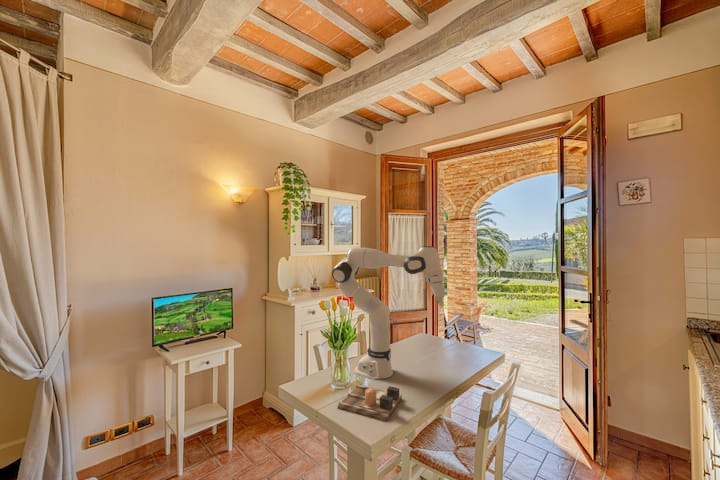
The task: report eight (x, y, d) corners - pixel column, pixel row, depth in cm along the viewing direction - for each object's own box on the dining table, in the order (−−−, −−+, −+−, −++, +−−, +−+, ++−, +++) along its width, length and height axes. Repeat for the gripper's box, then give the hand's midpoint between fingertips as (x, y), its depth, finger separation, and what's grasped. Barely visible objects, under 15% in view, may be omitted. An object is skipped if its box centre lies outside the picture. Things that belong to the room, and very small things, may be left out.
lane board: (337, 408, 141) (337, 403, 141) (357, 388, 159) (357, 384, 159) (386, 421, 131) (386, 416, 131) (401, 398, 149) (401, 394, 149)
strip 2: (367, 398, 147) (367, 386, 147) (373, 391, 153) (373, 380, 153) (395, 405, 141) (395, 393, 141) (400, 397, 147) (400, 386, 147)
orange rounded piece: (363, 405, 139) (363, 392, 139) (368, 400, 144) (368, 387, 144) (373, 408, 137) (373, 394, 137) (378, 402, 142) (377, 389, 141)
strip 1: (359, 407, 139) (359, 395, 139) (366, 400, 145) (366, 388, 145) (388, 415, 133) (388, 402, 133) (394, 407, 139) (394, 395, 139)
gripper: (426, 277, 166) (431, 302, 165) (430, 279, 146) (436, 309, 145) (437, 275, 166) (443, 300, 165) (443, 277, 145) (450, 306, 144)
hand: (440, 304), depth 155 cm, fingers open, 8 cm apart
